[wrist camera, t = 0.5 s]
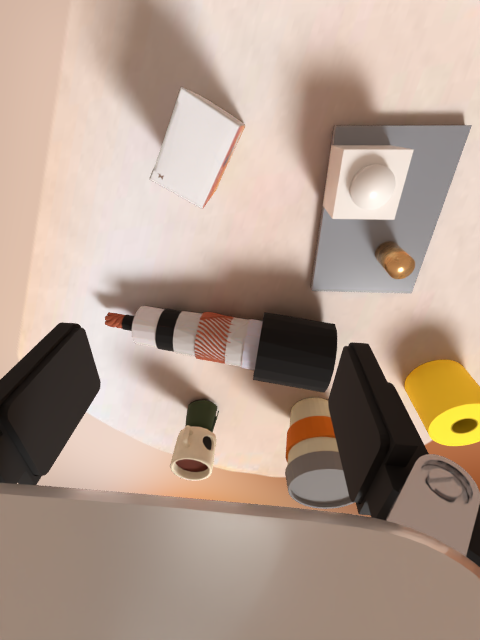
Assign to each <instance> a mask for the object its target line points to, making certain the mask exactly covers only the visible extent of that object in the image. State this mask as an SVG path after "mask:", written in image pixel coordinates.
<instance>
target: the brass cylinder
mask: <svg viewBox="0 0 480 640" xmlns="http://www.w3.org/2000/svg"><path fill="white" fill-rule="evenodd" d="M375 258H376V260H377V261H378V262H379V263H380V264H381V266H382V267H383V268H384V269H385V270H386V272H387V273H388V274H389V275H390V276H391V277H392V278H394V279H403V278H406V277H408V276H409V275H410V274H411V273H412V272H413V271H414V268H415V261H414V259H413V258H412V257H411V256H410V255H408V254H407V253H406V252H405V251H404V250H403V249H402V248H401V247H400V246H399V245H398V244H396V243H395V242H393V241H387V242H384V243H382V244H380V245H379V246H378V248H377V249H376V251H375Z"/></svg>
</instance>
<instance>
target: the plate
mask: <svg viewBox="0 0 480 640" xmlns="http://www.w3.org/2000/svg"><path fill="white" fill-rule="evenodd" d="M471 126H472V125H393V126H334V129H333V136H332V143H331V145H392V146H397V147H403V148H408V149H413V150H414V151H413V154H412V158H411V161H410V165H409V169H408V172H407V176H406V179H405V183H404V187H403V190H402V194H401V197H400V201H399V205H398V208H397V212H396V215H395V219H394V220H377V219H332V218H331V216H330V215H329V213H328V212H327V211H326V209H325V208H324V207H323V206H322V213H321V219H320V226H319V233H318V240H317V247H316V254H315V261H314V268H313V275H312V282H311V289H312V291H339V292H378V293H412V291H413V288H414V285H415V282H416V279H417V277H418V274H419V271H420V268H421V265H422V263H423V260H424V257H425V254H426V251H427V249H428V246H429V243H430V240H431V238H432V235H433V232H434V229H435V226H436V224H437V221H438V218H439V215H440V212H441V210H442V207H443V204H444V201H445V198H446V196H447V193H448V190H449V187H450V184H451V182H452V179H453V176H454V173H455V170H456V168H457V165H458V162H459V159H460V156H461V154H462V151H463V148H464V145H465V143H466V140H467V137H468V134H469V131H470V129H471ZM330 152H331V150H330ZM329 159H330V157H329ZM328 166H329V164H328ZM327 173H328V171H327ZM326 180H327V178H326ZM325 187H326V185H325ZM324 194H325V192H324ZM323 201H324V199H323ZM387 241H393V242H395V243H396V244H398V245H399V246H400V247H401V248H402V249H403V250H404V251H405V252H406V253H407V254H408V255H410V256H411V257H412V258H413V259H414V261H415V268H414V271H413V272H412V273H411V274H410V275H409V276H408V277H406V278H403V279H394V278H392V277H391V276H390V275H389V274H388V273H387V272H386V270H385V269H384V268H383V267H382V266H381V264H380V263H379V262H378V261H377V260H376V258H375V251H376V249H377V248H378V246H379V245H380V244H382V243H384V242H387Z"/></svg>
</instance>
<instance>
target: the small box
mask: <svg viewBox="0 0 480 640" xmlns="http://www.w3.org/2000/svg"><path fill="white" fill-rule="evenodd" d="M244 128H245V124H243V123H242V122H241V121H239V120H238V119H236V118H235V117H234V116H232V115H231V114H229V113H227V112H226V111H224V110H223V109H221V108H220V107H218V106H217V105H215V104H213V103H212V102H210V101H209V100H207V99H205V98H204V97H202V96H200V95H198V94H196V93H194V92H192V91H190V90H188V89H186V88H184V87H180V90H179V94H178V97H177V101H176V104H175V107H174V111H173V114H172V117H171V120H170V123H169V126H168V129H167V132H166V135H165V138H164V141H163V143H162V146H161V149H160V152H159V155H158V158H157V161H156V163H155V166H154V169H153V171H152V174H151V176H150V180H151V181H153V182H155V183H157V184H158V185H160V186H162V187H164V188H166V189H167V190H169V191H171V192H173V193H175V194H176V195H178V196H180V197H182V198H184V199H185V200H187V201H189V202H191V203H193V204H194V205H196V206H198V207H200V208H202V209H203V208H204V206H205V205H206V203H207V202H208V201H209V199H210V198H211V196H212V195H213V194H214V192H215V191H216V189H217V187H218V184H219V182H220V180H221V177H222V175H223V173H224V171H225V169H226V166H227V164H228V162H229V160H230V158H231V156H232V154H233V151H234V149H235V147H236V145H237V143H238V141H239V139H240V137H241V134H242V132H243V130H244Z"/></svg>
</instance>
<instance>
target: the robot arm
mask: <svg viewBox="0 0 480 640" xmlns="http://www.w3.org/2000/svg"><path fill="white" fill-rule="evenodd" d="M99 389H100V379H99V375H98V372H97V369H96V365H95V362H94V358H93V355H92V352H91V348H90V345H89V342H88V338H87V335H86V332H85V330H84V328H81V326H80V325H79V324H75V323H59V324H58V325H57V326H56V327H55V328H54V329H53V330H52V331H51V332H50V333H48V334H47V335H46V336H45V337H44V338H43V339H42V340H41V341H40V342H39V343H38V344H37V345H36V346H35V347H34V348H33V349H32V350H31V351H30V352H29V353H28V354H27V355H26V356H25V357H24V358H22V359H21V360H20V361H19V362H18V363H17V364H16V365H15V366H14V367H13V368H12V369H11V370H10V371H9V372H8V373H7V374H6V375H5V376H4V377H3V378H2V379H1V380H0V640H480V493H479V490H478V487H477V485H476V483H475V482H474V480H473V479H472V477H471V476H470V475H469V474H468V473H467V472H466V471H465V470H464V469H463V468H462V467H460V466H459V465H457V464H456V463H455V462H453V461H451V460H449V459H447V458H445V457H442V456H438V455H434V454H433V455H432V454H431V455H430V454H428V452H427V450H426V448H425V446H424V444H423V442H422V440H421V438H420V436H419V434H418V432H417V430H416V428H415V426H414V424H413V422H412V420H411V418H410V416H409V414H408V412H407V410H406V408H405V406H404V404H403V402H402V400H401V398H400V396H399V395H398V393H397V391H396V389H395V387H394V386H393V384H391V383H388V382H387V381H386V379H385V376H384V374H383V372H382V370H381V368H380V366H379V364H378V362H377V360H376V358H375V356H374V354H373V352H372V350H371V348H370V346H369V344H366V343H350V344H349V346H345V347H344V348H343V351H342V354H341V358H340V361H339V365H338V368H337V372H336V375H335V379H334V382H333V386H332V389H331V393H330V396H329V401H328V407H329V412H330V416H331V421H332V425H333V429H334V434H335V438H336V442H337V446H338V451H339V455H340V459H341V463H342V468H343V472H344V476H345V481H346V485H347V489H348V493H349V497H350V500H351V501H352V502H356V505H357V509H358V513H359V514H363V515H371V517H364V516H358V515H352V514H345V513H336V512H327V511H317V510H309V509H299V508H290V507H279V506H269V505H258V504H247V503H236V502H226V501H215V500H204V499H203V500H202V499H192V498H180V497H170V496H158V495H147V494H135V493H124V492H112V491H100V490H87V489H76V488H64V487H51V486H39V485H36V484H37V483H38V481H39V479H40V478H41V476H42V475H46V474H47V473H48V472H49V470H50V468H51V467H52V465H53V464H54V462H55V461H56V459H57V457H58V456H59V454H60V453H61V451H62V449H63V448H64V446H65V444H66V443H67V441H68V440H69V438H70V436H71V435H72V433H73V432H74V430H75V428H76V427H77V425H78V424H79V422H80V420H81V419H82V417H83V416H84V414H85V412H86V411H87V409H88V408H89V406H90V404H91V403H92V401H93V400H94V398H95V396H96V395H97V393H98V391H99ZM17 482H18V484H17Z"/></svg>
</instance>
